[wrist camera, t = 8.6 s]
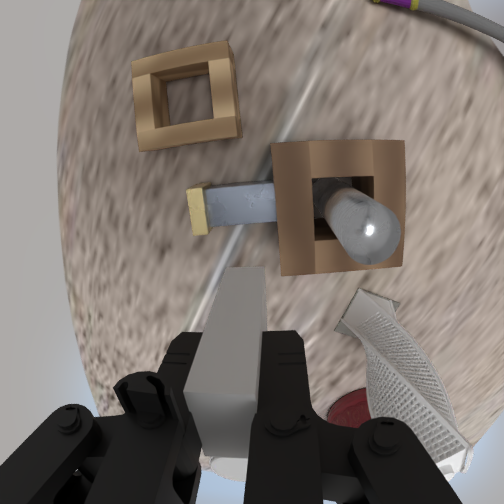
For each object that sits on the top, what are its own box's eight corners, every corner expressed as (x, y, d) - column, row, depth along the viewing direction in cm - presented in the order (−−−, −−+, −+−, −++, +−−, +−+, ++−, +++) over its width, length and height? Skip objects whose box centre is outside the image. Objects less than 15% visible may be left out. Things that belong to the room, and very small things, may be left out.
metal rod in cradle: (309, 176, 32) (342, 205, 17) (344, 175, 32) (401, 203, 17) (311, 211, 34) (342, 267, 19) (345, 209, 33) (398, 262, 18)
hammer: (372, -19, 17) (599, 93, 9) (371, -65, 14) (591, 40, 7) (367, 36, 30) (543, 103, 23) (370, -5, 28) (541, 61, 20)
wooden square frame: (149, 70, 29) (131, 61, 24) (233, 54, 28) (227, 40, 23) (156, 150, 32) (139, 151, 28) (242, 137, 31) (237, 136, 27)
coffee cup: (244, 386, 44) (236, 448, 32) (286, 412, 45) (286, 470, 34) (208, 410, 46) (195, 466, 35) (248, 433, 48) (243, 486, 37)
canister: (326, 435, 48) (335, 514, 31) (324, 393, 43) (338, 487, 27) (391, 422, 46) (413, 496, 30) (400, 377, 42) (435, 461, 25)
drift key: (202, 224, 35) (193, 235, 31) (196, 183, 33) (186, 189, 29) (306, 216, 34) (311, 226, 30) (303, 173, 32) (308, 178, 28)
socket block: (279, 247, 35) (281, 276, 28) (270, 143, 31) (270, 143, 24) (377, 240, 34) (402, 266, 27) (375, 140, 30) (404, 140, 23)
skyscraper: (324, 326, 39) (364, 527, 13) (352, 275, 36) (445, 477, 10) (374, 341, 40) (437, 515, 14) (403, 295, 37) (507, 463, 11)
